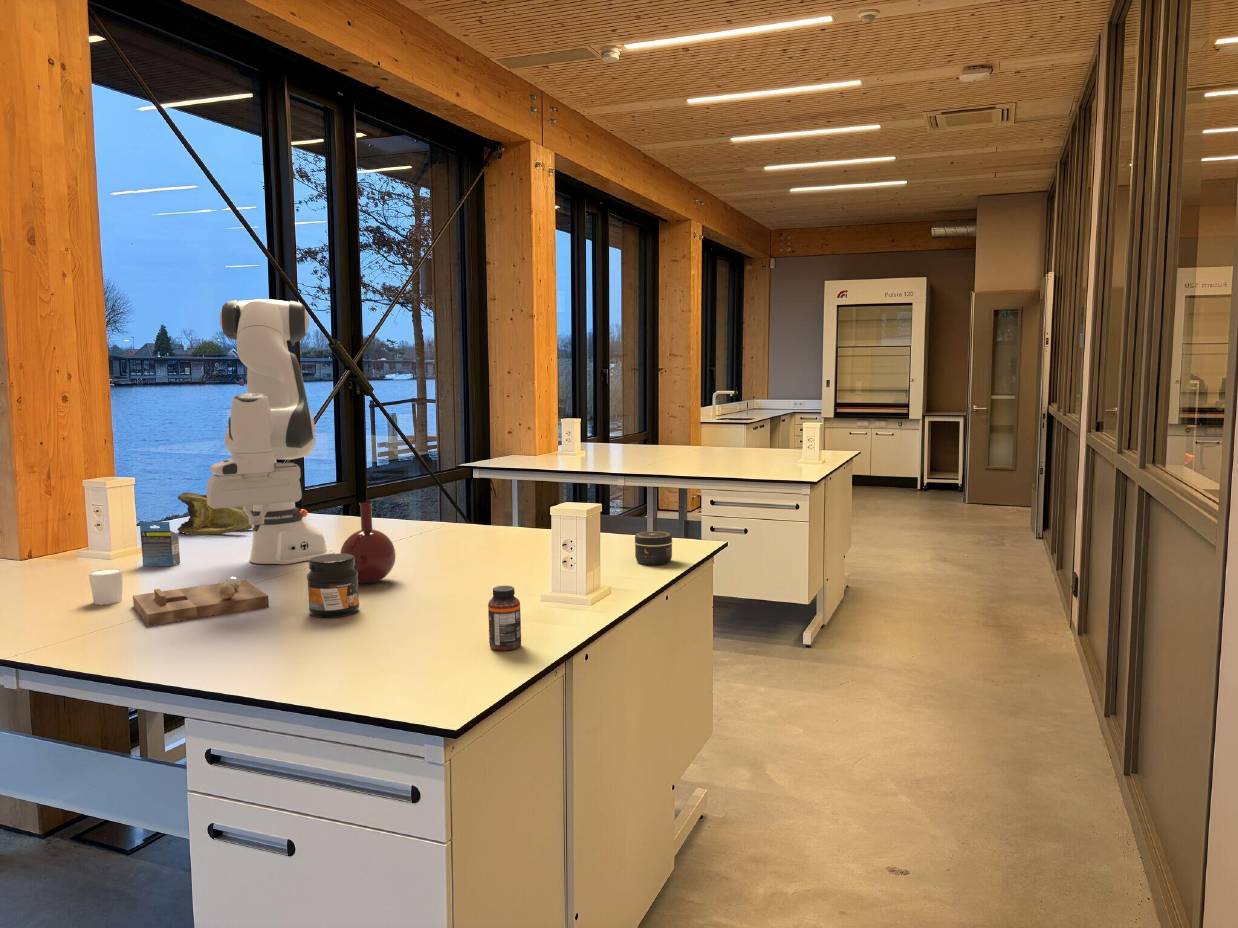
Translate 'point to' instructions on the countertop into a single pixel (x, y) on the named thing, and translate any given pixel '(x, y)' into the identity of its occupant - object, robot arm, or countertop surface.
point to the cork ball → (226, 592)
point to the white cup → (106, 586)
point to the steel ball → (233, 582)
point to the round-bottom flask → (370, 549)
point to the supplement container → (333, 585)
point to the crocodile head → (211, 517)
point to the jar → (653, 548)
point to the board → (196, 602)
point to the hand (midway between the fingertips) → (256, 524)
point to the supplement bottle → (504, 619)
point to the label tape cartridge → (159, 544)
